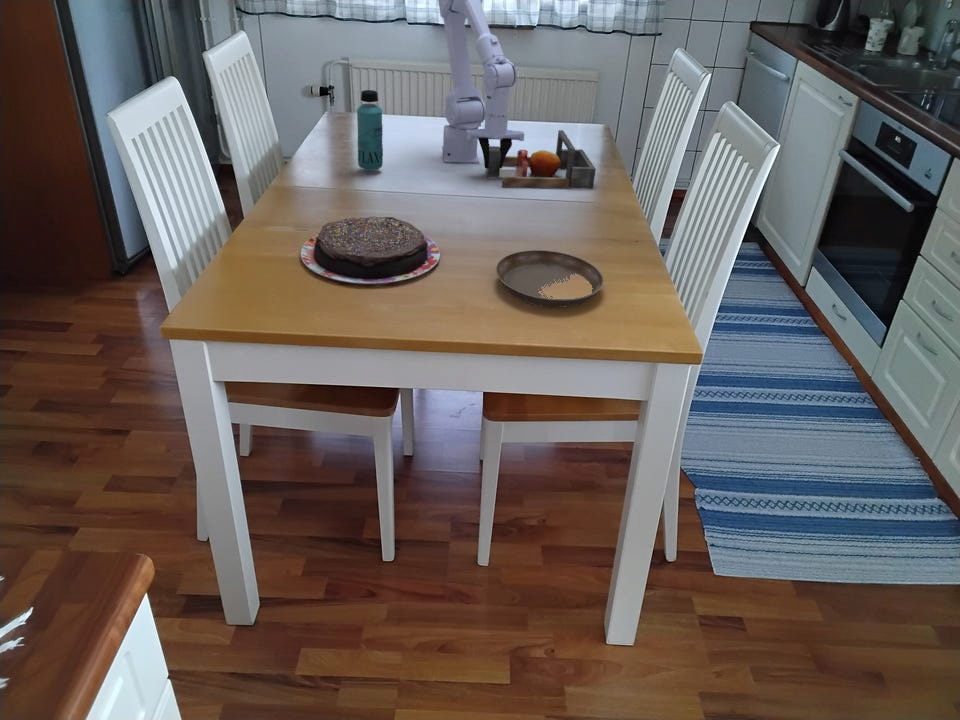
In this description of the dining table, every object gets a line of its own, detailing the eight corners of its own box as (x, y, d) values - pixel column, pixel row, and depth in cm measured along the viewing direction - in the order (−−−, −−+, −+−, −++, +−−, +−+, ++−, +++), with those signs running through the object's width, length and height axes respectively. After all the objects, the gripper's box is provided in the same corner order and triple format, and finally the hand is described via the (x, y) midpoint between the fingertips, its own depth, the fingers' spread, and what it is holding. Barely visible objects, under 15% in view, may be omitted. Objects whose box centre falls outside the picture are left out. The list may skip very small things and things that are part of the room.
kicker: (489, 182, 191) (490, 155, 188) (484, 168, 200) (486, 142, 196) (528, 182, 193) (531, 156, 189) (522, 169, 201) (524, 143, 197)
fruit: (523, 175, 193) (529, 144, 192) (528, 182, 200) (534, 153, 200) (554, 180, 191) (560, 149, 191) (557, 187, 199) (564, 157, 198)
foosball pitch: (502, 187, 189) (505, 147, 183) (494, 164, 203) (497, 127, 198) (593, 189, 192) (599, 150, 186) (579, 166, 206) (584, 130, 200)
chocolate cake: (373, 218, 168) (373, 190, 165) (468, 258, 154) (470, 229, 150) (271, 256, 150) (268, 225, 146) (368, 305, 135) (367, 272, 132)
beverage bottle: (353, 173, 191) (351, 92, 180) (363, 165, 196) (361, 86, 185) (378, 177, 190) (376, 95, 179) (387, 169, 195) (386, 89, 184)
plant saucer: (613, 279, 150) (616, 264, 148) (583, 325, 134) (585, 308, 132) (517, 256, 156) (519, 241, 154) (477, 297, 140) (478, 281, 138)
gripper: (469, 117, 183) (466, 171, 190) (528, 119, 185) (523, 173, 192) (466, 109, 189) (464, 162, 196) (523, 111, 191) (518, 163, 198)
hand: (493, 167), depth 195 cm, fingers closed on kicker, 3 cm apart
